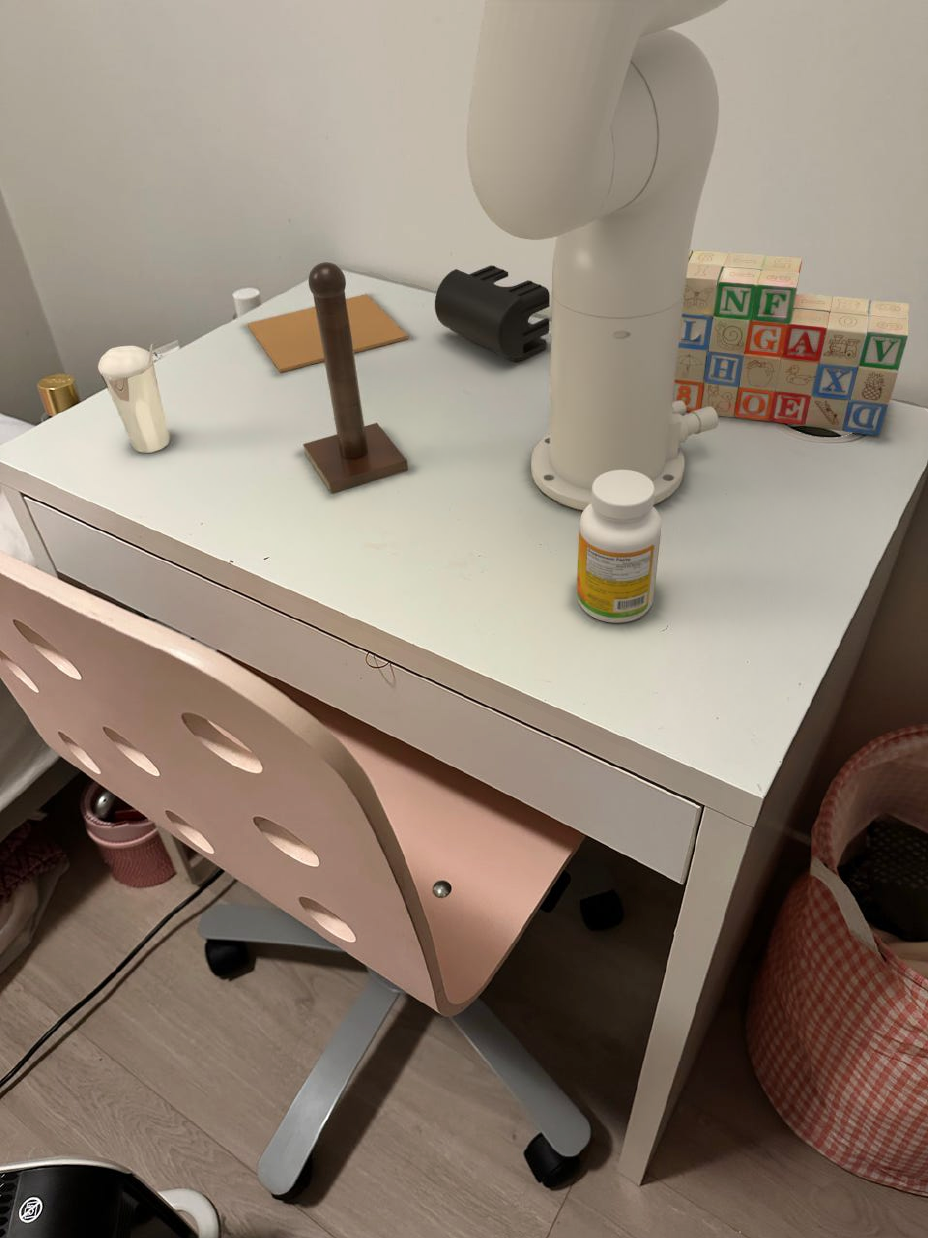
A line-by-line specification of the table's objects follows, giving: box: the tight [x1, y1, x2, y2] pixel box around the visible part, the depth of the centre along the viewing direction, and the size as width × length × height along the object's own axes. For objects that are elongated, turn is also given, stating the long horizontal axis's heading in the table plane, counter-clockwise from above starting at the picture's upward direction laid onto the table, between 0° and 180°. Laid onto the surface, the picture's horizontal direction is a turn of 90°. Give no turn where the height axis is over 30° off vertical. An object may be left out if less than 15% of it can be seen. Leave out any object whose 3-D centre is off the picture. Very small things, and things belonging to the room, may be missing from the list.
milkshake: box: [97, 341, 171, 454], centre depth 81 cm, size 4×5×10 cm
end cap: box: [434, 264, 551, 362], centre depth 93 cm, size 10×7×7 cm
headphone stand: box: [302, 261, 409, 494], centre depth 75 cm, size 7×7×17 cm
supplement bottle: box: [576, 470, 662, 624], centre depth 63 cm, size 5×5×10 cm
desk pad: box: [247, 293, 409, 373], centre depth 99 cm, size 14×12×1 cm
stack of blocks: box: [672, 249, 910, 437], centre depth 80 cm, size 21×6×12 cm, turn 69°
